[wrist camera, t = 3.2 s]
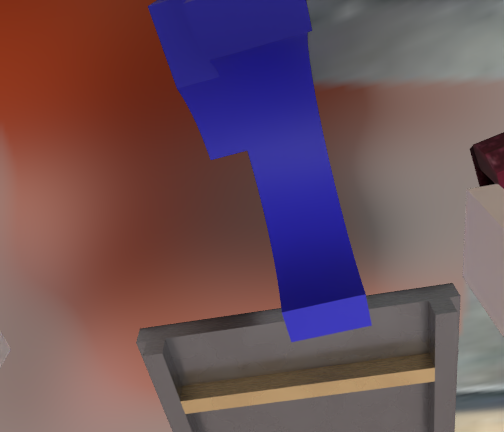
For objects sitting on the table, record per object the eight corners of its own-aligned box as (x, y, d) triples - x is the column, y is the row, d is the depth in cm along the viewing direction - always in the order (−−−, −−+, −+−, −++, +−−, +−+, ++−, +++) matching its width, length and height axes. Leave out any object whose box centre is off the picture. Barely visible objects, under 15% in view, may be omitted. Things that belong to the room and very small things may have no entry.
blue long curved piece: (162, -4, 18) (127, 20, 12) (283, -42, 17) (299, -32, 12) (250, 258, 23) (252, 350, 18) (343, 236, 23) (371, 325, 18)
